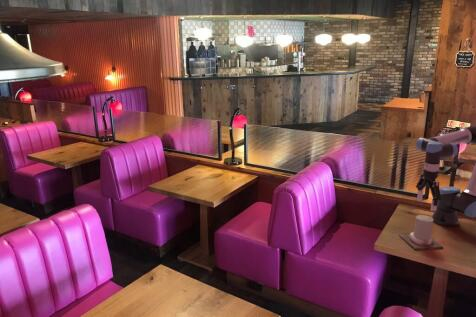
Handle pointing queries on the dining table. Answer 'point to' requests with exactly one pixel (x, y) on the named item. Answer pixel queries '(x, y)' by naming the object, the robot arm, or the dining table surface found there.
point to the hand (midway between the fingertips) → (426, 205)
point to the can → (423, 227)
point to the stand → (420, 242)
